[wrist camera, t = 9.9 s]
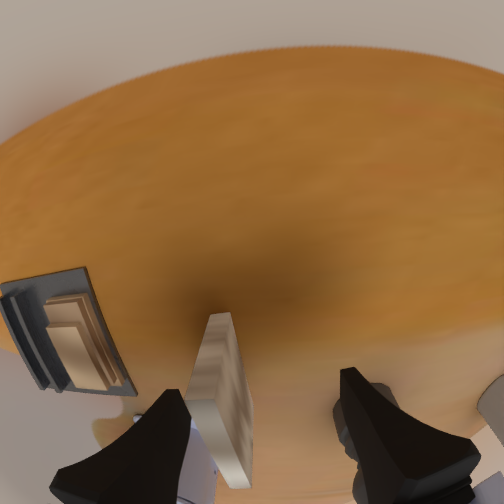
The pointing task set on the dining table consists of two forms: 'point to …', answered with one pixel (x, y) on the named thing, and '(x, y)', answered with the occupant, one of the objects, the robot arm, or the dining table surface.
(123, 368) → the rack
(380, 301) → the dining table surface
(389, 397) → the candle holder
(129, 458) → the robot arm
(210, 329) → the beige flat block
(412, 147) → the dining table surface
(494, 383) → the bottle
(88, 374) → the offcut stack
